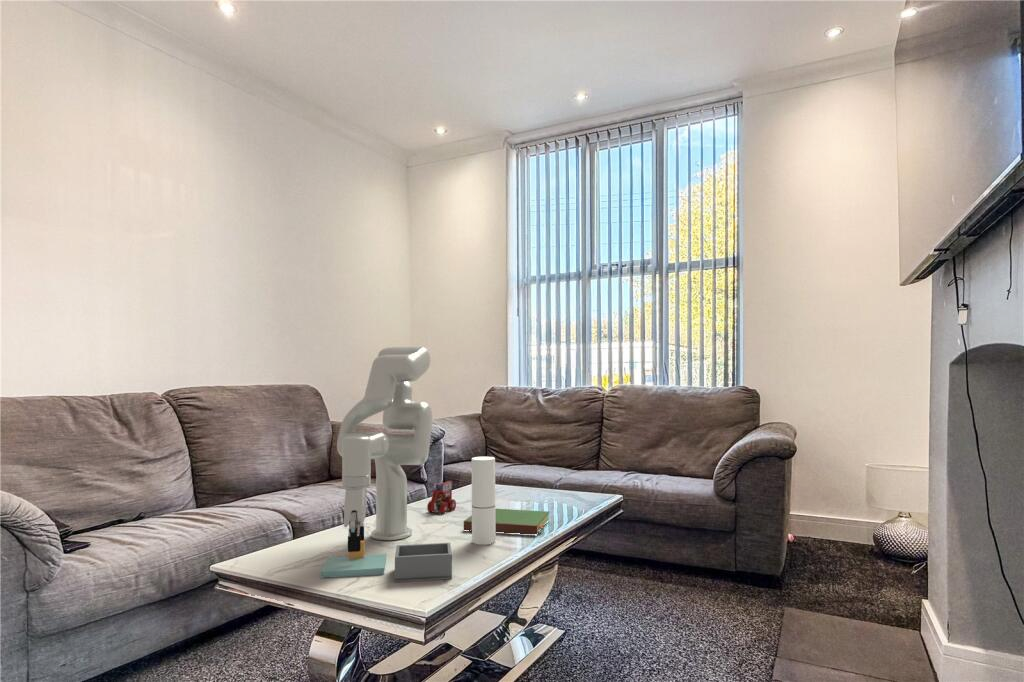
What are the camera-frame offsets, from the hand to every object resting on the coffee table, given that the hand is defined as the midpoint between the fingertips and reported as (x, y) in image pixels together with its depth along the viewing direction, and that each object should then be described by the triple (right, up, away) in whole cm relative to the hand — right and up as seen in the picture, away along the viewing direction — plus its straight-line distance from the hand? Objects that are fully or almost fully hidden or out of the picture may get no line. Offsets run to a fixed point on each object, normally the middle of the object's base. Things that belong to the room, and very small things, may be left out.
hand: (356, 546), depth 158 cm
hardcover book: (+41, -7, +36) cm, 55 cm away
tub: (+19, -4, -8) cm, 22 cm away
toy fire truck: (+16, -8, +58) cm, 60 cm away
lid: (+1, -4, -4) cm, 6 cm away
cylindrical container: (+34, -6, +19) cm, 39 cm away
